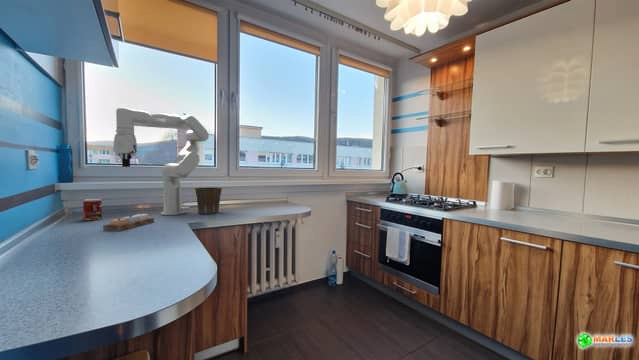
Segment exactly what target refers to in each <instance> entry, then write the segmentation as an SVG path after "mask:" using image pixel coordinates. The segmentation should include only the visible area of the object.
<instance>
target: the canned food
mask: <svg viewBox="0 0 639 360" xmlns="http://www.w3.org/2000/svg"><path fill="white" fill-rule="evenodd" d="M82 201H83V202H82V207H83V220H84V219H98V218H101V219H102V218H103V202H102V198H87V199H85V198H84V199H83V200H82Z"/></svg>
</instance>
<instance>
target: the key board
mask: <svg viewBox="0 0 639 360" xmlns="http://www.w3.org/2000/svg"><path fill="white" fill-rule="evenodd" d="M154 222H155V218H154V217H150V216H148V218H147V219H143V220H139V221H135V222H128V223H126V224H122V225H110V223H108V224H103V225H102V228H103V231H104V232H105V231H106V232H122V231H127V230H130V229H134V228H137V227H141V226H145V225H148V224H152V223H154Z"/></svg>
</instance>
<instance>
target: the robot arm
mask: <svg viewBox="0 0 639 360" xmlns="http://www.w3.org/2000/svg"><path fill="white" fill-rule="evenodd" d="M115 116H116V118H115V119H116V121H115V122H116V124H115V125H116V130H115V134H114V138H113V149H112V150H113V153H114V154H115V156H118V157H120V159H121V166H122V168H123V167H124V168H127V167H128V168H130V167H131V160H132V158H133V157H135V156H137V152H138V144H137V137H136V135H135V127H143V128H144V127H145V128H160V129H175V130H186V132H185V136H184V137H185V142H186V144H185V146H184V147H183V148H182V149H181V150H180V151H179V152H178V153H177V154H176V156H175V157H174V163H173V162H171V163H165V164H164V165H163V166H162V168H161V177H162V184H163V186H162V187H163V197H162V198H163V211H161V212H160V215H163V216H174V215H176V216H177V215H181V214H184V213H185V211H189V210H190V206H183V205H182V186H181V181H180V180H182V179H186V178H187V177H189V176H190V175H191V174H192V173H193V171H194V170H195V169H196V168H197V167H198V166H199V163H200V156H199V154H198V153H199V150H200V149H199V145H198V144H199V143H200V142H201V143H203V142H206V141H207V140H209V137H210V136H209V135H210V134H209V132H208V131H207V129H206V128H205V127H204V126H203V125H202V123H201V122H200V121H199V120H198V119H197V118H196V117H195V116H193V115H190V114H188V115H178V114H168V113H152V114H151V113H149V112H148V111H145V110H138V109H137V110H136V109H131V108H127V107H118V108H116V110H115ZM198 142H199V143H198Z"/></svg>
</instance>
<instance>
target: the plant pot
mask: <svg viewBox="0 0 639 360" xmlns="http://www.w3.org/2000/svg"><path fill="white" fill-rule="evenodd" d="M222 190H223V188H221V187H195V188H194V191H195V195H196V203H197V204H196V205H197V213H198V214H199V215H213V214H218V213H219V210H220V201H221V200H220V199H221V195H222Z"/></svg>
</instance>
